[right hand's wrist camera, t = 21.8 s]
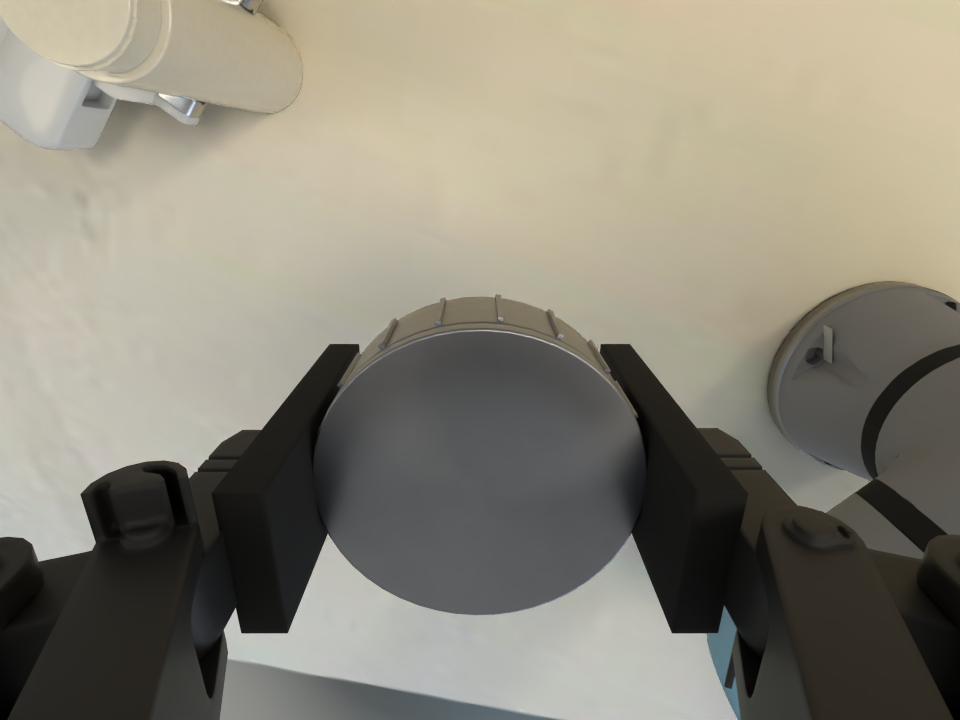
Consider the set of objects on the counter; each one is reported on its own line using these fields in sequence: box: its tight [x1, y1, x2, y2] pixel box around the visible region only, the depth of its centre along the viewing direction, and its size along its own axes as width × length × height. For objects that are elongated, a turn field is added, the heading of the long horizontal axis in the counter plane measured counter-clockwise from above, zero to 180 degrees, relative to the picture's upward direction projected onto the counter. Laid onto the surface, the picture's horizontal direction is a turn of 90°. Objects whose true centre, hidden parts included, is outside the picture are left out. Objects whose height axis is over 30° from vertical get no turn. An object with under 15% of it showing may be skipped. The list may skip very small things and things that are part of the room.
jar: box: [0, 0, 303, 114], centre depth 26 cm, size 6×6×18 cm
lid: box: [312, 295, 647, 615], centre depth 11 cm, size 6×6×2 cm
